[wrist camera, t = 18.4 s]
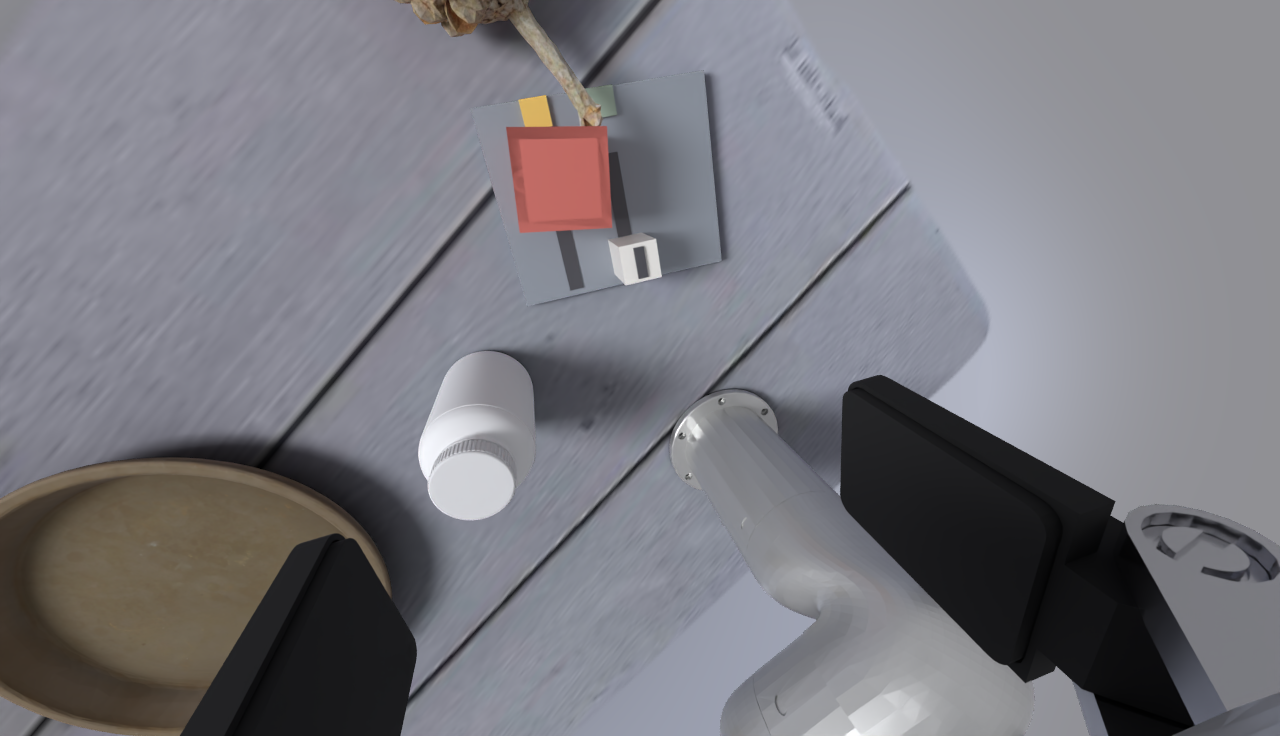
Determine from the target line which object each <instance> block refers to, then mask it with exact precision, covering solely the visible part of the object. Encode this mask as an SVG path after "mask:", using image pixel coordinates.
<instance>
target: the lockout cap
mask: <svg viewBox="0 0 1280 736" xmlns="http://www.w3.org/2000/svg"><path fill="white" fill-rule="evenodd" d="M506 131H507V138H508V146H509V154H510V162H511V169H512V177H513V185H514V193H515V200H516V208H517V216H518V224H519V231H520V233H529V232H547V231H565V230H583V229H601V228H612V213H611V194H610V175H609V156H608V137H607V126H555V127H506Z"/></svg>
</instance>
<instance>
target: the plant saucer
mask: <svg viewBox="0 0 1280 736" xmlns="http://www.w3.org/2000/svg"><path fill="white" fill-rule="evenodd" d="M334 533H339V534H341V535H342V536H344V537H345V539H348V538H353V539H355V540H356V541H357V543H358V544H359V546H360V547H361V549H362V551H363V553H364V554H365V556H366V558H367V559H368V561H369V563H370V564H371V566H372V568H373V569H374V571H375V573H376V574H377V576H378V578H379V579H380V581H381V583H382V584H383V586H384V588H385V589H386V591H387V593H388V595H389V596H390V598H391V600H392V588H391V582H390V577H389V574H388V570H387V567H386V565H385V562H384V560H383V557H382V556H381V554H380V552H379V550H378V549H377V547H376V545H375V543H374V542H373V540H372V538H371V537H370V536H369V535H368V533H367V532H366V531H365V530H364V528H363V527H362V526H361V525H360V524H359V523H358V522H357V521H356V520H355V519H354V518H353V517H352V516H351V515H350V514H349V513H347V512H346V511H345V510H344V509H343V508H341V507H340V506H339V505H337V504H336V503H335V502H333V501H332V500H330V499H329V498H327V497H326V496H324V495H322V494H320V493H318V492H317V491H315V490H313V489H311V488H309V487H307V486H305V485H303V484H301V483H299V482H297V481H294V480H292V479H289V478H286V477H284V476H281V475H278V474H275V473H273V472H269V471H266V470H262V469H259V468H255V467H251V466H246V465H241V464H236V463H232V462H225V461H217V460H209V459H198V458H178V457H169V458H142V459H128V460H120V461H111V462H104V463H98V464H93V465H88V466H83V467H79V468H76V469H72V470H68V471H64V472H61V473H58V474H55V475H52V476H49V477H46V478H43V479H40V480H38V481H35V482H33V483H30V484H28V485H26V486H24V487H22V488H20V489H18V490H15V491H13V492H11V493H9V494H8V495H6V496H4V497H2V498H1V499H0V696H1V697H3V698H5V699H7V700H9V701H10V702H12V703H15V704H17V705H19V706H21V707H23V708H25V709H27V710H30V711H32V712H35V713H37V714H40V715H42V716H45V717H48V718H51V719H54V720H57V721H60V722H63V723H66V724H70V725H74V726H78V727H82V728H87V729H91V730H97V731H102V732H108V733H114V734H122V735H133V736H180V734H181V733H182V731H183V729H184V728H185V726H186V725H187V723H188V721H189V720H190V718H191V716H192V715H193V713H194V711H195V710H196V708H197V706H198V705H199V703H200V701H201V700H202V698H203V696H204V695H205V693H206V691H207V690H208V688H209V686H210V685H211V683H212V682H213V680H214V678H215V677H216V675H217V673H218V672H219V670H220V668H221V667H222V665H223V663H224V662H225V660H226V658H227V657H228V655H229V653H230V652H231V650H232V648H233V647H234V645H235V644H236V642H237V640H238V639H239V637H240V635H241V634H242V632H243V630H244V629H245V627H246V625H247V624H248V622H249V620H250V619H251V617H252V615H253V614H254V612H255V610H256V609H257V607H258V605H259V604H260V602H261V601H262V599H263V597H264V596H265V594H266V592H267V591H268V589H269V587H270V586H271V584H272V582H273V581H274V579H275V577H276V576H277V574H278V572H279V571H280V569H281V567H282V566H283V564H284V562H285V561H286V559H287V558H288V556H289V554H290V553H291V551H292V550H293V548H294V547H295V546H296V545H298V544H300V543H303V542H306V541H310V540H313V539H317V538H320V537H323V536H327V535H330V534H334Z"/></svg>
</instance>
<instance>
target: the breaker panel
mask: <svg viewBox="0 0 1280 736" xmlns="http://www.w3.org/2000/svg"><path fill="white" fill-rule="evenodd" d="M585 90H586V91H587V93H588V94H589V95H590V96H591V98H592V99H593V100H594V102H595V103H597V104H600V105H601V111H600V112H601V116H602V118H603V121H602V123H601V125H600V126H607V137H608V156H609V175H610V194H611V213H612V228H601V229H583V230H565V231H547V232H529V233H520V231H519V224H518V216H517V208H516V200H515V193H514V185H513V177H512V169H511V162H510V154H509V146H508V138H507V131H506V127H555V126H580V122H579V116H578V111H577V109H576V108H575V107H574V106H573V104H572V102H571V100H570V99H569V97H568V95H567V94H566V93H561V94H555V95H549V96H546V95H544V96H538V97H532V98H526V99H520V100H518V101H512V102H506V103H500V104H494V105H488V106H482V107H476V108H470V110H471V114H472V117H473V121H474V124H475V128H476V131H477V135H478V138H479V141H480V145H481V148H482V152H483V155H484V159H485V162H486V166H487V169H488V173H489V176H490V180H491V183H492V186H493V190H494V193H495V197H496V200H497V204H498V207H499V211H500V214H501V218H502V221H503V224H504V228H505V231H506V235H507V238H508V242H509V245H510V249H511V252H512V256H513V259H514V263H515V266H516V269H517V273H518V276H519V280H520V283H521V287H522V290H523V294H524V297H525V301H526V304H527V306H531V305H535V304H539V303H544V302H548V301H552V300H556V299H561V298H565V297H569V296H574V295H578V294H582V293H586V292H591V291H595V290H599V289H604V288H608V287H612V286H616V285H621V284H625V285H630V284H634V283H638V282H642V281H647V280H651V279H655V278H659V277H662V275H664V274H668V273H672V272H676V271H681V270H685V269H689V268H694V267H698V266H702V265H706V264H711V263H715V262H719V261H722V259H721V249H720V238H719V227H718V216H717V206H716V195H715V184H714V173H713V162H712V152H711V141H710V130H709V119H708V108H707V98H706V87H705V76H704V70H702V71H696V72H690V73H684V74H678V75H672V76H665V77H659V78H653V79H647V80H641V81H635V82H629V83H623V84H616V85H605V86H599V87H593V88H587V89H585Z"/></svg>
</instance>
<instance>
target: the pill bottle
mask: <svg viewBox="0 0 1280 736" xmlns="http://www.w3.org/2000/svg"><path fill="white" fill-rule="evenodd" d="M418 455H419V462H420V466H421V469H422V472H423V474H424V476H425V477H426V479H427V480H428V493H429V496H430V497H431V500H432V502H433V503H434V505H435V506H436V507H437V508H438V509H439V510H441V511H442V512H443V513H445V514H447V515H449V516H451V517H453V518H457V519H461V520H479V519H484V518H487V517H490V516H492V515H494V514H496V513H498V512H499V511H501V510H502V509H504V507H506V506H507V504H509V502H510V501H511V500H512V498H513V496H514V494H515V490H516V488H517V487H518V486H519V485H520V484H521V483H522V482H523V481H524V480H525V479H526V477H527V476H528V474H529V472H530V471H531V469H532V466H533V464H534V461H535V455H536V437H535V414H534V392H533V385H532V381H531V378H530V376H529V374H528V372H527V371H526V369H525V368H524V367H523V366H522V365H521V364H520V363H519V362H518V361H517V360H515V359H514V358H512V357H510V356H508V355H506V354H503V353H500V352H495V351H480V352H475V353H472V354H469V355H467V356H465V357H463V358H461V359H460V360H458V361H457V362H456V363H455V364H454V365H453V366H452V367H451V368H450V369H449V371H448V372H447V374H446V376H445V378H444V380H443V382H442V385H441V388H440V390H439V393H438V395H437V398H436V400H435V403H434V406H433V408H432V411H431V413H430V416H429V418H428V421H427V424H426V426H425V429H424V431H423V434H422V437H421V440H420V443H419V450H418Z"/></svg>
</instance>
